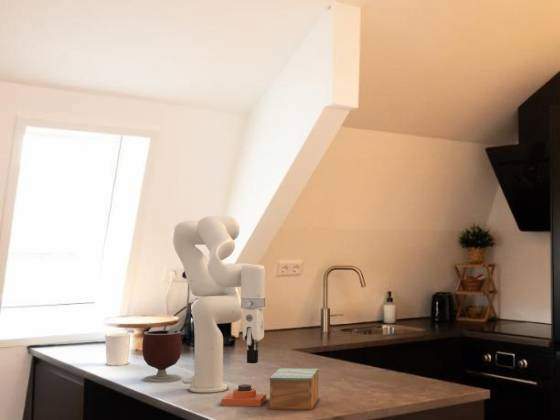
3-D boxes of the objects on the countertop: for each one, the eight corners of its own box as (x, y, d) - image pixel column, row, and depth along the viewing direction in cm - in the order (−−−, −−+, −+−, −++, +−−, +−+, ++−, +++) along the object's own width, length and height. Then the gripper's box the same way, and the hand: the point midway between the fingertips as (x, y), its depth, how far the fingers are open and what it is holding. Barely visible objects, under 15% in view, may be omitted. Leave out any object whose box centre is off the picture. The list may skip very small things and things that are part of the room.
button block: (221, 405, 234) (222, 392, 235) (229, 399, 243) (229, 386, 244) (260, 406, 234) (260, 392, 234) (266, 399, 243) (266, 387, 243)
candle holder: (130, 361, 319) (130, 332, 319) (129, 365, 310) (130, 335, 310) (105, 362, 316) (105, 333, 316) (104, 366, 306) (104, 336, 307)
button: (236, 392, 237) (236, 386, 237) (239, 389, 241) (239, 384, 241) (249, 392, 237) (249, 386, 237) (252, 390, 241) (252, 384, 241)
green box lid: (311, 380, 228) (311, 378, 228) (269, 380, 229) (269, 377, 229) (318, 371, 245) (318, 368, 245) (279, 370, 245) (279, 368, 245)
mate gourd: (159, 384, 269) (160, 327, 270) (133, 380, 277) (134, 324, 277) (192, 377, 282) (193, 323, 283) (167, 373, 290) (167, 321, 290)
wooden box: (311, 409, 229) (311, 380, 229) (269, 409, 229) (270, 379, 230) (318, 398, 244) (318, 371, 245) (279, 398, 245) (279, 370, 245)
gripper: (259, 306, 231) (259, 367, 231) (269, 302, 246) (269, 359, 246) (235, 306, 232) (234, 366, 231) (246, 302, 247) (246, 359, 246)
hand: (252, 362), depth 238 cm, fingers closed
